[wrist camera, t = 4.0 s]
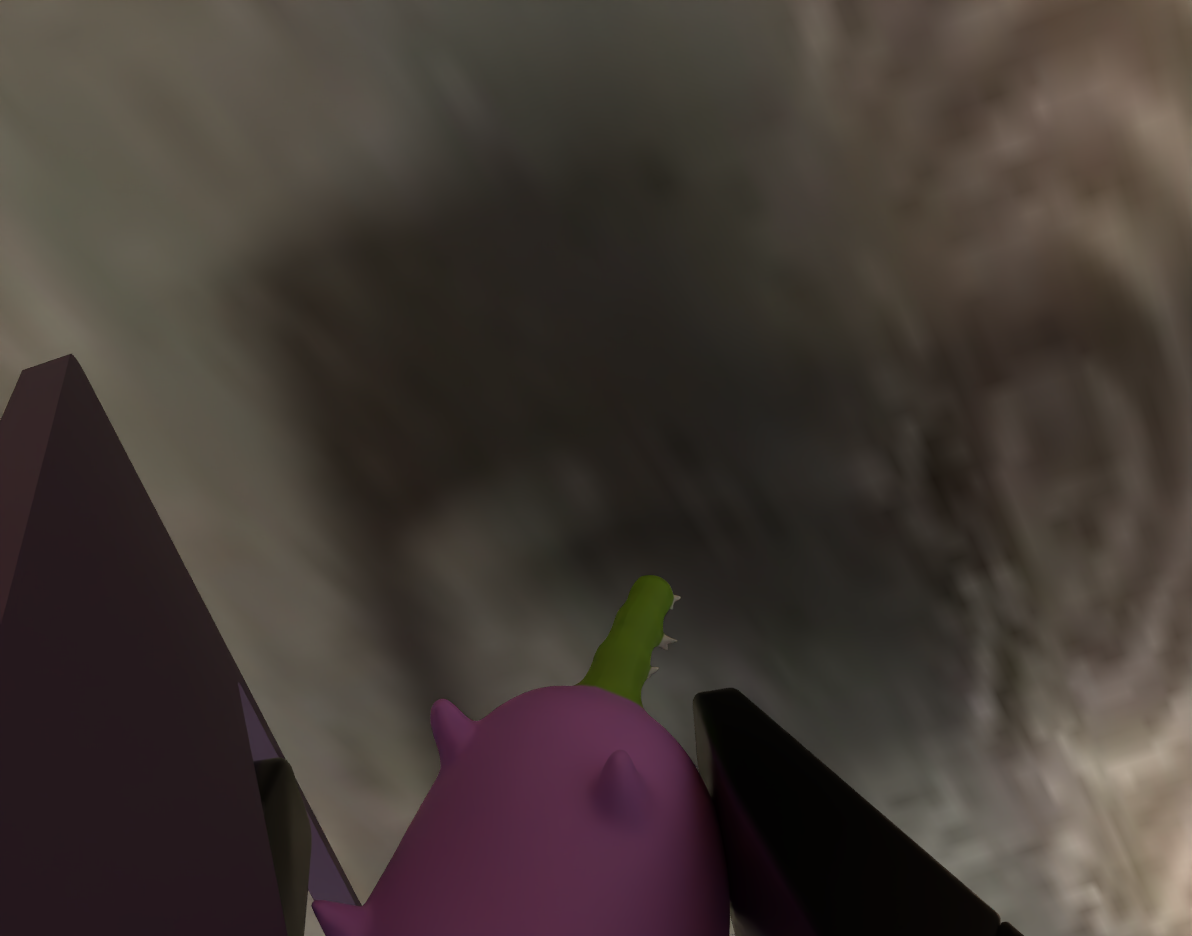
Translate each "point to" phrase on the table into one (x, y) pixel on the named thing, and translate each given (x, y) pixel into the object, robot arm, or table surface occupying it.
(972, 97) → the table surface
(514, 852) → the purple toy figure
